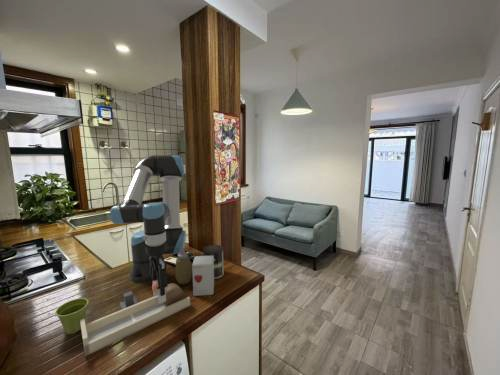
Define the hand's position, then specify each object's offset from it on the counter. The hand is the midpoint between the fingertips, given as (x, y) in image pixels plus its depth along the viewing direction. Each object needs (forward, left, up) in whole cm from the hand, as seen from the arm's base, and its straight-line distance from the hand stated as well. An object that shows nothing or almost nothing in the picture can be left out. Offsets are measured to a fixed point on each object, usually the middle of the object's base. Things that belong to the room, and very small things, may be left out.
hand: (159, 298), depth 89 cm
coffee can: (-10, +31, -6) cm, 33 cm away
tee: (-13, -9, -5) cm, 16 cm away
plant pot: (-12, -27, -6) cm, 30 cm away
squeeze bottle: (-14, +16, -6) cm, 22 cm away
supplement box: (-1, +20, -6) cm, 21 cm away
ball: (0, 0, +5) cm, 5 cm away
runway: (0, -8, -5) cm, 9 cm away
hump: (0, +5, -5) cm, 8 cm away
